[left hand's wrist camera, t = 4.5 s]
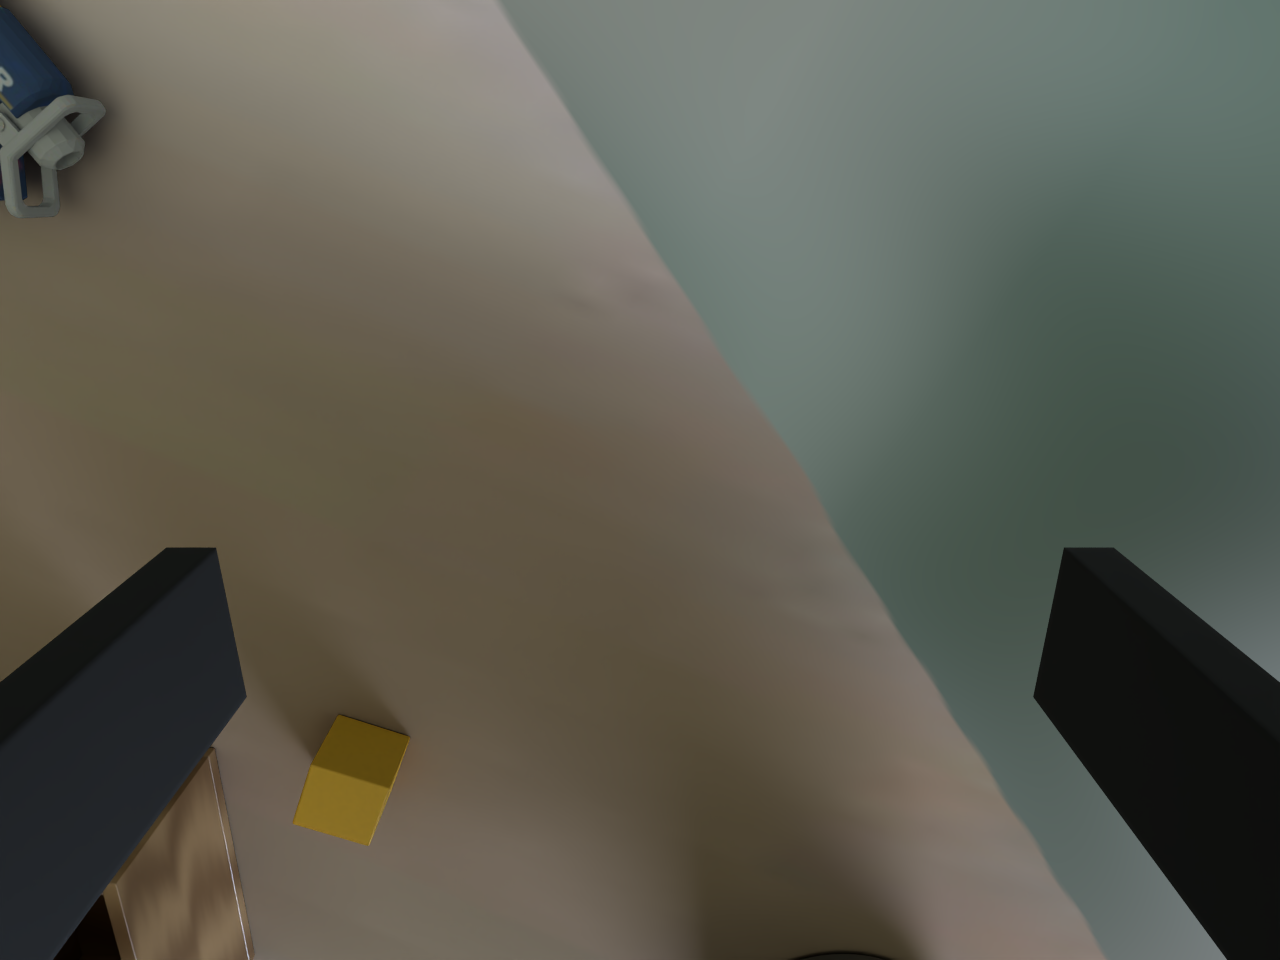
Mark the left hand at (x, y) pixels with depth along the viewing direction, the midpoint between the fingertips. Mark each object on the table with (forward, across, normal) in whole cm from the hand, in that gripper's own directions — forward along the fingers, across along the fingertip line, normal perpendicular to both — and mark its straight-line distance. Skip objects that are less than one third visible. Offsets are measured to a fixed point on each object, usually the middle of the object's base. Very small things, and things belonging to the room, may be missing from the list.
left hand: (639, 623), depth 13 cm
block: (+28, +16, +26) cm, 41 cm away
